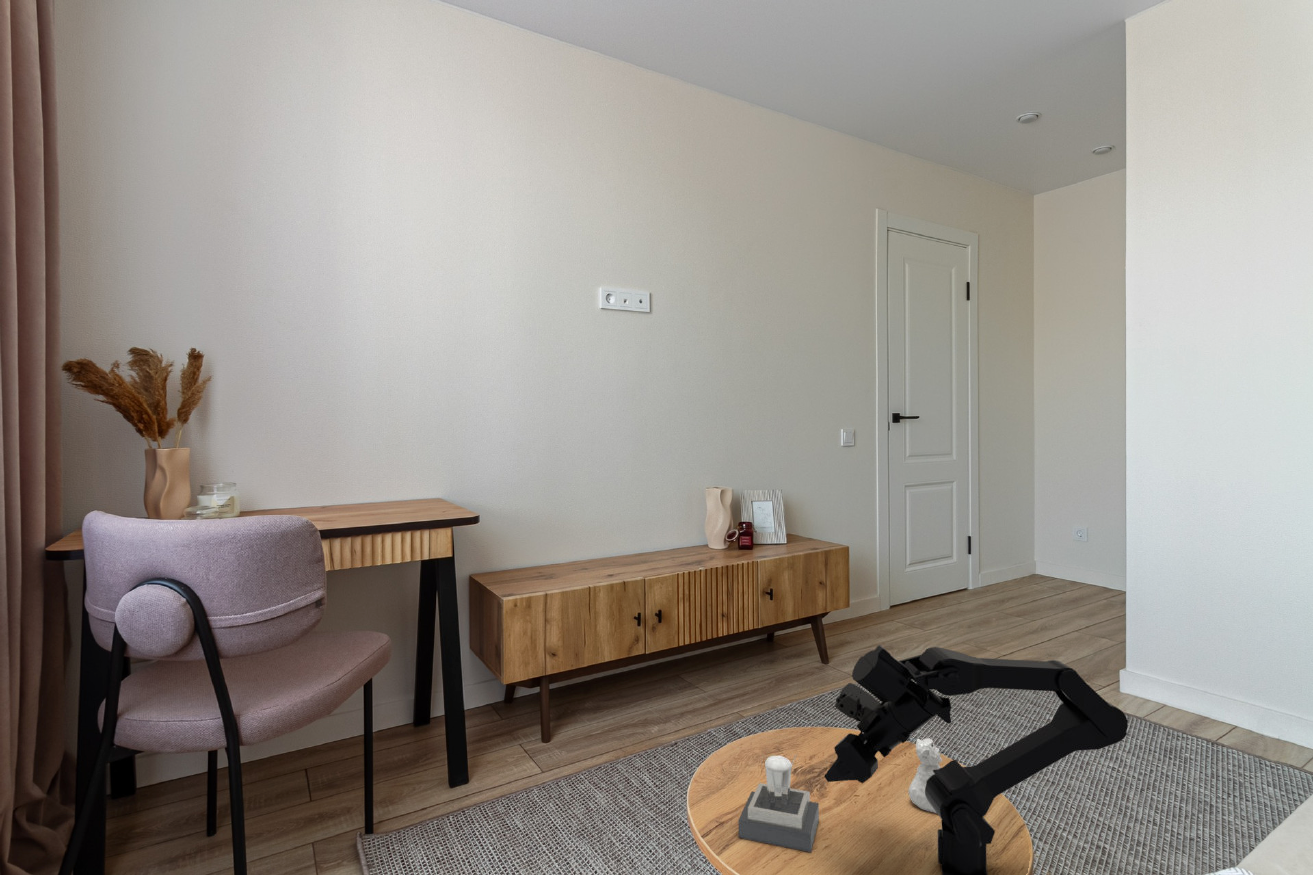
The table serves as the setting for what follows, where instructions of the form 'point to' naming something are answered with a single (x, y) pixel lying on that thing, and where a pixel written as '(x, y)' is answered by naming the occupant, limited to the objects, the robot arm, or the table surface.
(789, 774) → the milkshake
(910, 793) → the seated beast figurine
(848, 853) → the table surface
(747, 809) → the grey open rectangular box
